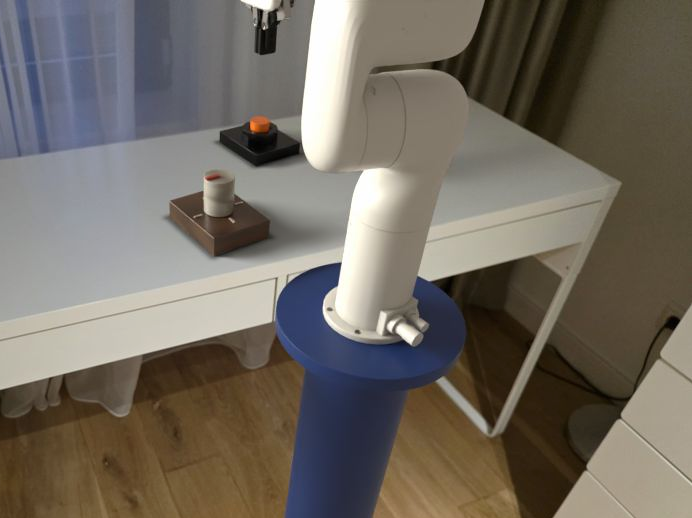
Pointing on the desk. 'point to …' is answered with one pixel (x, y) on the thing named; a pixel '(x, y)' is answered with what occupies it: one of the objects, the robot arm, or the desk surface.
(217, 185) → the knob
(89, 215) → the desk surface
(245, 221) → the panel
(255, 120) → the button
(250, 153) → the button box
